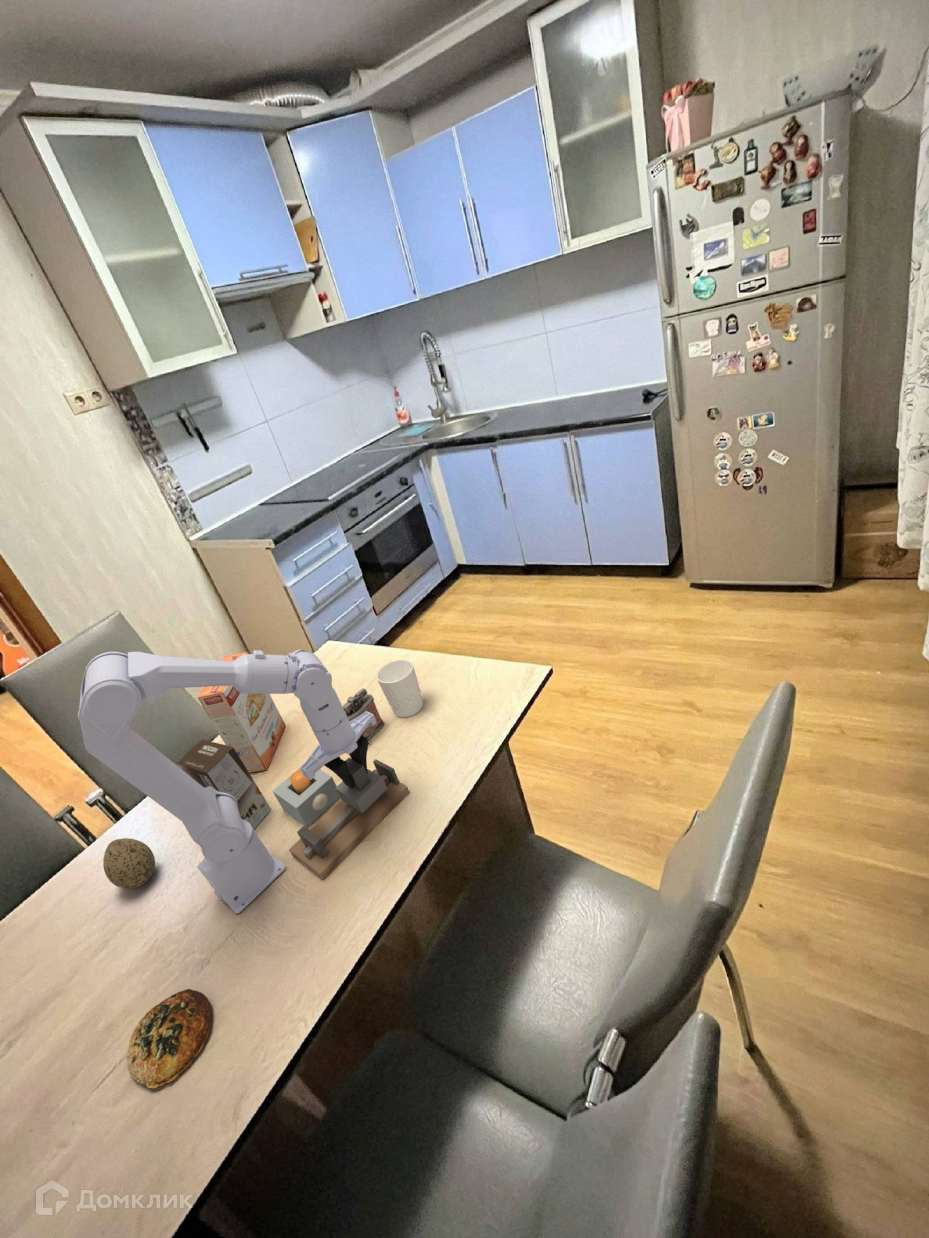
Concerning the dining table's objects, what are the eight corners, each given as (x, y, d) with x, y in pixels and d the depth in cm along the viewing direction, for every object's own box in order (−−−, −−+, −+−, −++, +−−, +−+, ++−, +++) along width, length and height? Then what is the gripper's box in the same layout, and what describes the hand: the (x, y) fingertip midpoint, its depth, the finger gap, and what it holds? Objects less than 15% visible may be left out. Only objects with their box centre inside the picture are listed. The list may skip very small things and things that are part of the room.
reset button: (305, 802, 102) (295, 785, 100) (296, 796, 104) (286, 778, 102) (318, 790, 104) (308, 773, 102) (309, 784, 106) (299, 767, 104)
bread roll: (226, 985, 79) (206, 972, 76) (203, 1086, 70) (180, 1075, 67) (154, 1000, 80) (132, 987, 77) (123, 1100, 72) (96, 1090, 69)
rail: (323, 880, 90) (311, 860, 88) (292, 855, 96) (280, 835, 94) (409, 792, 102) (401, 772, 99) (377, 774, 108) (368, 755, 105)
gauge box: (307, 827, 100) (297, 808, 98) (283, 809, 106) (272, 791, 103) (342, 795, 105) (332, 777, 103) (316, 780, 110) (306, 761, 108)
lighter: (361, 749, 115) (344, 712, 110) (350, 744, 117) (332, 707, 112) (387, 723, 120) (372, 686, 115) (376, 719, 122) (361, 683, 117)
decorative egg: (168, 876, 99) (138, 839, 94) (126, 906, 95) (93, 869, 91) (158, 854, 104) (128, 817, 99) (118, 882, 101) (86, 846, 96)
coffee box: (273, 808, 107) (235, 746, 99) (248, 836, 102) (207, 773, 94) (240, 798, 111) (202, 738, 104) (216, 824, 107) (173, 763, 99)
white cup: (385, 719, 121) (370, 683, 116) (399, 695, 128) (385, 659, 123) (418, 720, 118) (404, 682, 114) (431, 695, 125) (418, 658, 120)
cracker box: (269, 770, 116) (223, 691, 106) (242, 775, 117) (193, 697, 107) (288, 724, 128) (248, 649, 118) (263, 729, 129) (222, 655, 119)
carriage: (362, 813, 96) (348, 784, 93) (341, 799, 100) (326, 771, 97) (387, 788, 100) (374, 760, 96) (365, 776, 104) (352, 748, 100)
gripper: (306, 757, 84) (338, 818, 91) (376, 698, 93) (401, 758, 99) (281, 743, 89) (313, 802, 96) (350, 688, 97) (375, 745, 104)
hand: (356, 778), depth 98 cm, fingers closed on carriage, 2 cm apart
